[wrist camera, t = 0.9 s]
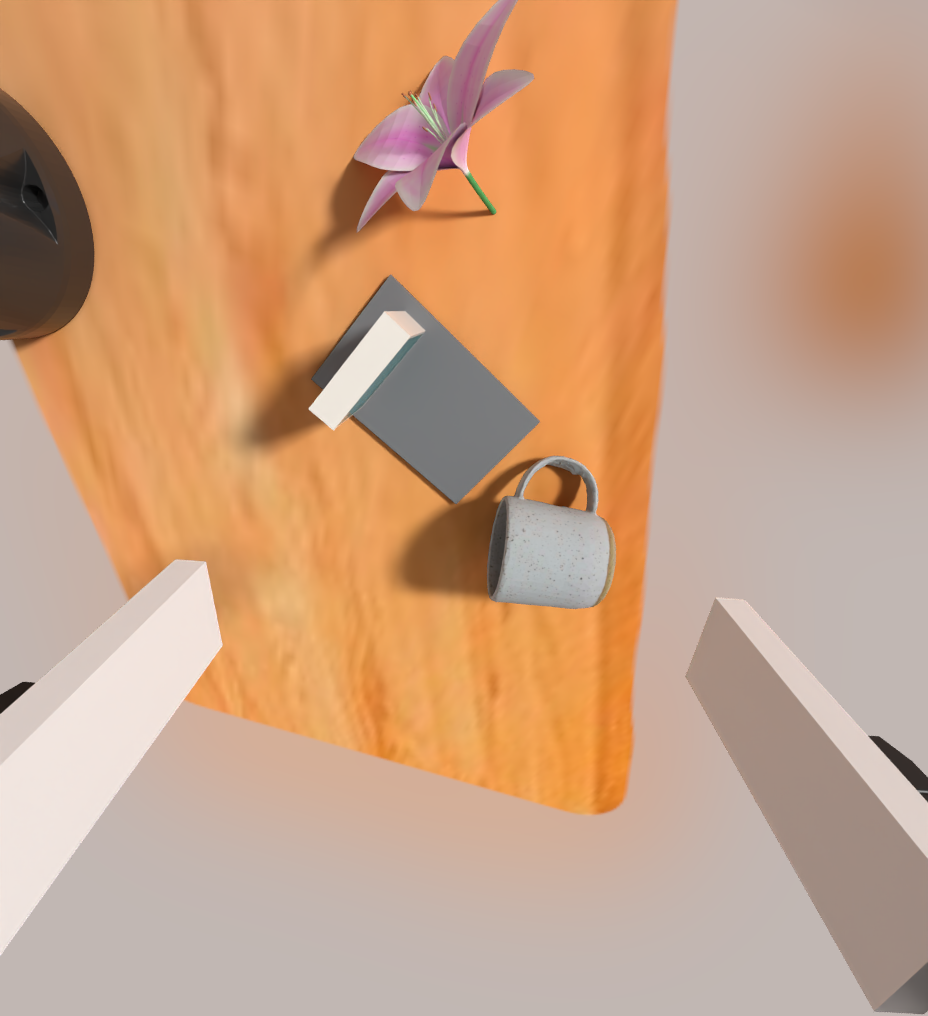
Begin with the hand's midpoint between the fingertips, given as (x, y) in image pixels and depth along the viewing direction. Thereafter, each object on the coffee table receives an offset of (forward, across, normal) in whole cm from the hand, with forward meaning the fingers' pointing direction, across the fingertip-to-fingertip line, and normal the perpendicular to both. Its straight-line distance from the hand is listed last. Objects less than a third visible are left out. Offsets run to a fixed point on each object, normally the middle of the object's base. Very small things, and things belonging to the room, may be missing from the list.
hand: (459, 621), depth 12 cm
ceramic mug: (+23, +7, -8) cm, 25 cm away
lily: (+24, -2, +15) cm, 28 cm away
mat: (+23, -3, +1) cm, 24 cm away
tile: (+23, -6, +3) cm, 24 cm away
